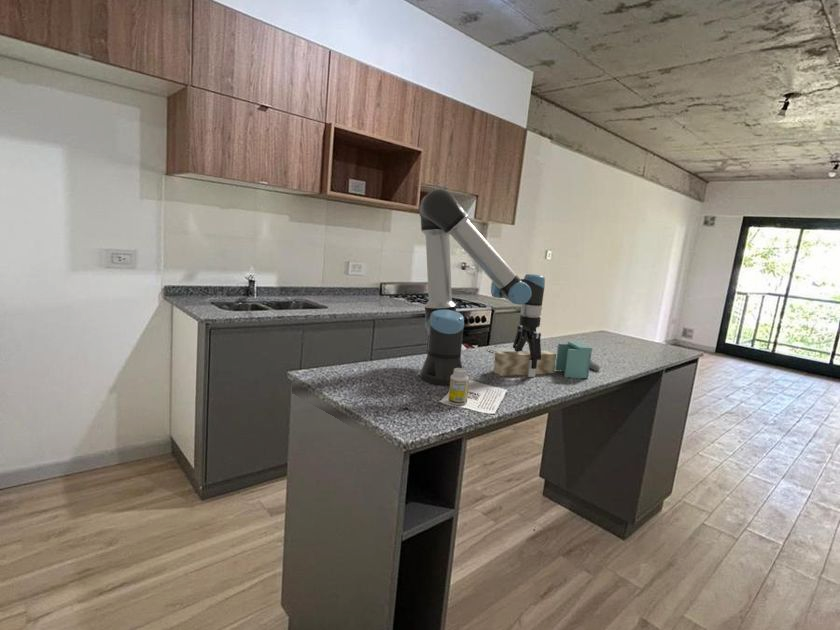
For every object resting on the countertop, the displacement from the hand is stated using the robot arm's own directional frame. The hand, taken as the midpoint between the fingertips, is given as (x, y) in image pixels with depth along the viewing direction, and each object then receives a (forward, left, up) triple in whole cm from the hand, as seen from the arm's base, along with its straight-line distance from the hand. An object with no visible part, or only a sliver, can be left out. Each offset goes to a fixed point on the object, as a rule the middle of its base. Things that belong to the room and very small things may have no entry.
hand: (524, 371), depth 174 cm
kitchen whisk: (+34, +21, -1) cm, 40 cm away
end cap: (+19, 0, 0) cm, 19 cm away
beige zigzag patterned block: (0, 0, 0) cm, 0 cm away
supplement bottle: (-33, -35, 0) cm, 48 cm away
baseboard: (+6, +21, -1) cm, 22 cm away
